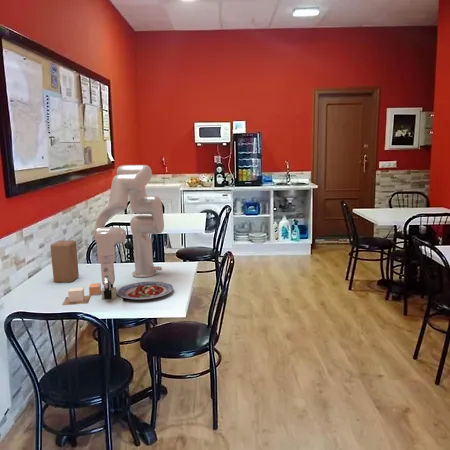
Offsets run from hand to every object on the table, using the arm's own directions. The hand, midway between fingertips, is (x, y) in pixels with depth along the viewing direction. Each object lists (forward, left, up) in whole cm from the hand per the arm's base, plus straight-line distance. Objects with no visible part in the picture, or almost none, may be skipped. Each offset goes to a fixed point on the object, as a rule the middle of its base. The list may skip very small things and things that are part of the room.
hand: (109, 295), depth 215 cm
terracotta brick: (+7, -8, -2) cm, 11 cm away
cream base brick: (+14, +1, -1) cm, 14 cm away
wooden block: (+25, -38, -2) cm, 46 cm away
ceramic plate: (-16, -5, -3) cm, 17 cm away
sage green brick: (0, 0, -2) cm, 2 cm away
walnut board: (+14, +1, -2) cm, 14 cm away
